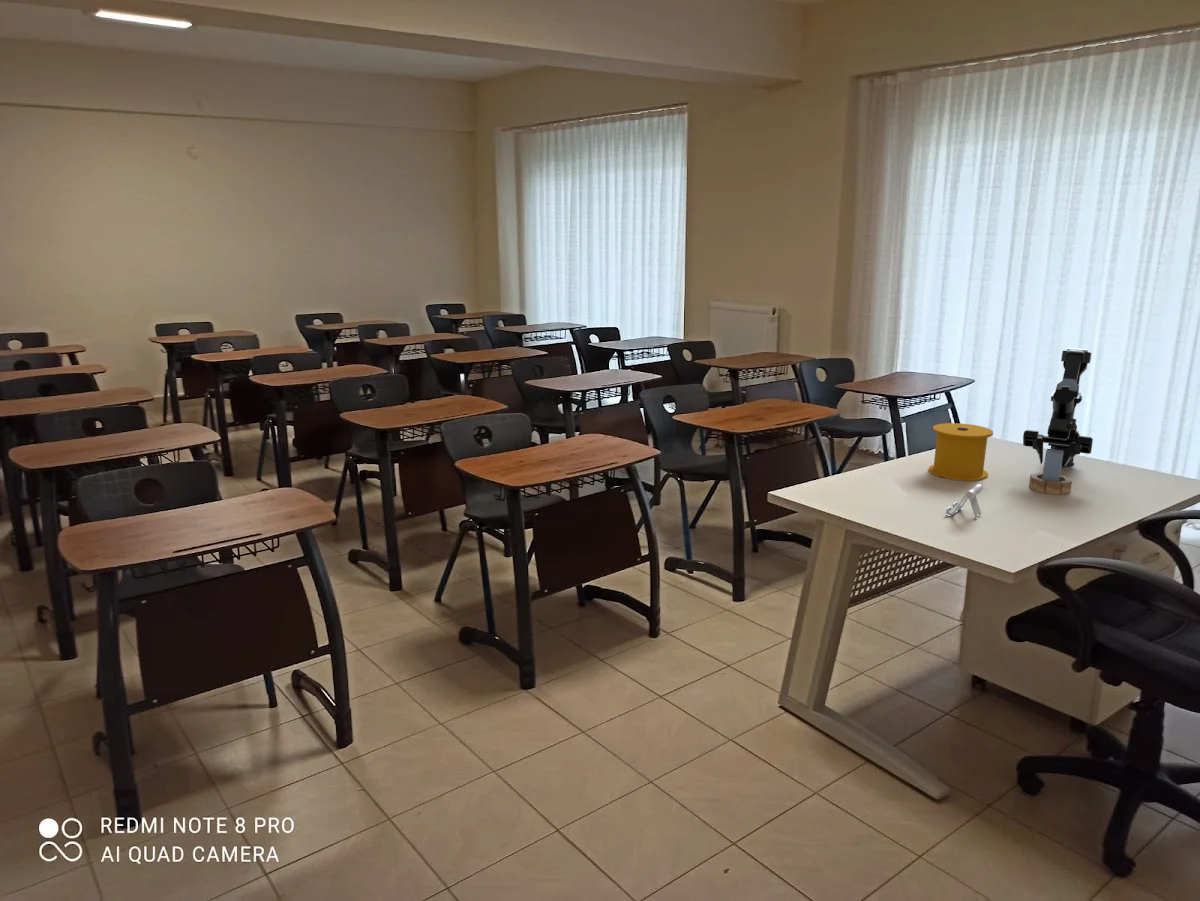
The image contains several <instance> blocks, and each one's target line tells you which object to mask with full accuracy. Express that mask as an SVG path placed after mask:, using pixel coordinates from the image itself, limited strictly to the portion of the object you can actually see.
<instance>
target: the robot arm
mask: <svg viewBox="0 0 1200 901" xmlns="http://www.w3.org/2000/svg"><path fill="white" fill-rule="evenodd" d="M1091 360H1092V352H1089V349H1088V348H1072V347H1071V348H1070V347H1067V349H1066V350H1062V353H1061V359H1060V361H1061V362H1063V363H1062V366H1063V369H1064V371H1063V376H1062V379H1061V381H1059V382H1058V383H1057V384H1056V387H1055V390H1053V391H1052V392H1051V393H1052V394H1051V395H1050V402H1052V414H1051V418H1050V422H1049V425H1048V428H1047V433H1046V434H1047V436H1046V435H1043V434H1040V433H1039V430H1033V429H1032V430H1031V429H1026V430H1024V432H1023V435H1022V443H1023V444H1022V445H1023V446H1024V447H1029V448H1032V449H1033V450H1035V451H1036V452H1037V455H1038V458H1039V463H1040V465H1043V463H1044V462H1043V461H1044V444H1047V446H1049V447H1050V449H1055V450H1063V451H1064V453H1063V460H1062V468H1066V467H1067V466H1074V465H1075V462H1074V460H1075V459H1074V458H1075V456H1076V455H1080V454H1088V455H1089V454H1092V448H1093V441H1094V439H1093V438H1092V437H1091V436H1085V435H1080V432H1079V430H1078V426H1077V418H1075V417H1074V416H1075V410H1076V407H1077V405H1080V403H1081V402H1082V400H1083V396H1082V394H1081V392H1080V391H1079V390H1080V380H1081V376H1082V374H1084V372H1085V371H1087V368H1088V365H1089V364H1090V363H1091Z"/></svg>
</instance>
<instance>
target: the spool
mask: <svg viewBox="0 0 1200 901" xmlns="http://www.w3.org/2000/svg"><path fill="white" fill-rule="evenodd" d="M932 431H933V432H935V433H936V439H935V440H936V441H935V449H934V450H935V451H934V460H933V464H931V465H930V466H928V472H929V473H930V474H931V473H932V474H931V475H933V474H934V475H933V476H935V475H937V476H936V477H938V476H940V477H939V478H941V477H944V478H943V479H946V478H949V479H948V480H951V479H954V480H953V481H959V480H963V481H962V482H977V480H978V481H983V480H985V479H988V477H989V472H987V471H986V470H985V469H984V468H985V460H986V454H987V453H986V452H987V446H988V445H987V443H988V438H990V437H992V436H993V435H994V431H993V430H992V429H990V428H987V427H986V426H981V425H976V424H970V423H962V422H961V423H957V422H956V423H955V422H954V423H953V422H949V423H948V422H944V423H938V424H935V425H933V426H932ZM982 479H983V480H982Z"/></svg>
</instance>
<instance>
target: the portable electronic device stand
mask: <svg viewBox="0 0 1200 901" xmlns="http://www.w3.org/2000/svg"><path fill="white" fill-rule="evenodd" d="M983 489H984V488H983V485H982V484H979V483H978V484H975V485H974V486H973V487H971V488H970V489H969V490H967V491H966V492H965V493H964V495H963V496H962V497H961V498H962V499H960V501H957V500H956V501H955V502H953V503H952V505H950V506H949V507H947V508H946V510H945V514H949V515H953V516H954V515H955V514H956V513H958V512H959V511H961V508H963V507H964V506H965V504H966V503H967V500H969V502H970V506H971V509H972V512H973V515H974V518H975V519H976V518H978V519H979V515H981V514H982V512H981V511H982V510H981V508H980V505H979V501H978V499H977V495H978V494H979V493H981V492H982V491H983ZM958 510H959V511H958Z"/></svg>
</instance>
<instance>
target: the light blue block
mask: <svg viewBox="0 0 1200 901" xmlns="http://www.w3.org/2000/svg"><path fill="white" fill-rule="evenodd" d="M1063 453H1064V451H1063V450H1055V449H1051V448H1046V450H1045V455H1044V462H1043V463H1044V464H1043V470H1042V473H1043V476H1042V479H1043V480H1046V481H1055V482H1059V481H1060V475H1061V472H1062V468H1063V466H1062V460H1063Z"/></svg>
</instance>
